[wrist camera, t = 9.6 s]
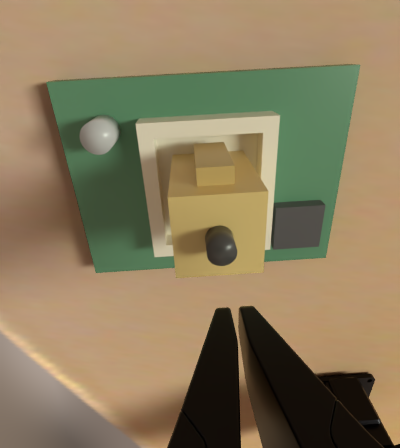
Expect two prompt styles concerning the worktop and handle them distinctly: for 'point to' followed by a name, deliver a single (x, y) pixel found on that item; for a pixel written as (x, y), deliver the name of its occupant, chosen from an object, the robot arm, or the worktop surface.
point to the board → (203, 133)
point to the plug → (216, 212)
